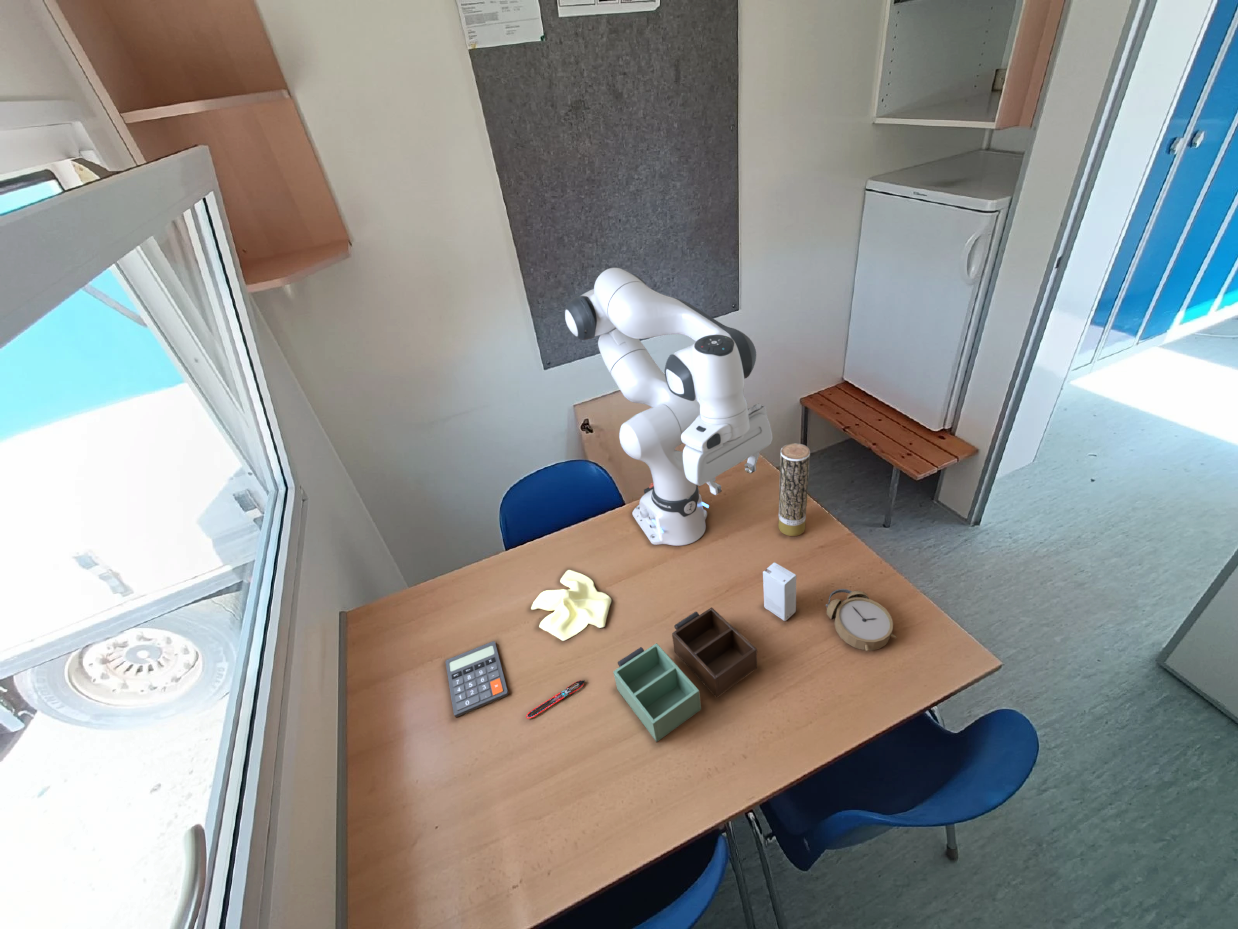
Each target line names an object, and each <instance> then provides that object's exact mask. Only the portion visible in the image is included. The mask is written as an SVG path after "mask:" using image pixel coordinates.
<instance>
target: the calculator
mask: <svg viewBox="0 0 1238 929" xmlns="http://www.w3.org/2000/svg"><path fill="white" fill-rule="evenodd" d="M445 668H446V674H447V682H448V686H449V693H450V700H451V706H452V712H453V716H454V717H456V718H457V717H459V716H462V715H465V714H467V713H469V712H472V711H474V710H476V709H479V708H481V707H483V706H486V705H488V704H491V703H493V702H495V701H497V700H500V699H502V698H504V697H507V696H508V695H509V690H508V686H507V682H506V679H505V675H504V671H503V667H502V664H501V659H500V654H499V651H498V647H497V644H496V641H495V640H493V641H490V642H487V643H485V644H482V645H480V646H478V647H475V648H473V649H470V650H468V651H465V652H462V653H461V654H457V655H455V656H453V657H450V658H447V659H446V660H445Z"/></svg>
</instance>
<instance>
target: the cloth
mask: <svg viewBox="0 0 1238 929" xmlns="http://www.w3.org/2000/svg"><path fill="white" fill-rule="evenodd" d="M559 582H560V584H562V585H563V586H564V587H567V588H569V589H564V588H560V589H547V590H543V591H542V592H539V595H538V596H537V597H535V598H536V599H535V600H534V601H533V603H532V604H531V607H530V609H531V610H532V611H533V610H537V609H540V610H542V611H547V612H552V611H553V612H552V613H549V614H548V615H547V616H545V617H544V618H543V619H542V620H541V621H540V623H539V626H538V627H539V628H540V629H541V630H543V631H544V632H547V633H548V634H550V635H552V636H553V637H555V638H557V639H559V640H561V641H562V642H564V641H567V640H568V639H570V638H572V637H574V636H576V635H577V634H579V633H581V632H582V631H583V630H584V629H586V627H587V626H588V625H592V626H595V627H597V628H598V629H600V628H601V629H602V628H604V627H606V623H607V617H608V615H609V610H610V606H611V604H612V598H611V597H610V596H609V595H607V594H606V593H605V592H602V591H598V590H597V589H596V587H595V583H594V581H593V580H592V579H591V578H590V577H588V576H587V575H584V574H582V573H580V572H577V571H575V570H571V569H567V570H566V571H565V573H563V575H562V576H561V578H560V580H559Z"/></svg>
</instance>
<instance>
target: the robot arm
mask: <svg viewBox="0 0 1238 929" xmlns="http://www.w3.org/2000/svg"><path fill="white" fill-rule="evenodd" d="M563 313H564V319H565V324H566V326H567V328H568V330H569V331H570V332H571V333H572V335H573V336H574V337H575V338H576V339H578V340H580V341H587V340H593V339H594V338H595V337H597V336H599V338H598V340H597V348H598V351H599V353H600V356H601V359H602V361H603V363H604V365H605V367H606V369H607V371H608V373H609V374H610V376H611V377H612V379H613V381H614V383H615V384H616V386H617V387H618V389H619V390H620V392H621V394H622V395H623V397H624V398H625V399H626V400H628V401H629V402H631V403H633V404H641V405H646V406H648V407H650V408H648V409H646V410H643V411H640V412H639V413H636V414H634V415H633V416H631V417H630V418H629V419H628V420H626V421H625V422H623V423H622V424H621V426H620V429H619V434H618V437H619V443H620V446H621V448H622V450H623V451H624V452H625V454H626V455H627V456H629V457H630V458H632V459H634V460H637V461H641V462H643V463H645V465H647V467H648V468H649V470H650V473H651V477H652V482H651V483H650V484H648V487H646V488H644V489H643V493H644V494H643V495H642V496H641V497H640V499H639V503H638V505H637V506H636V507H634V509H633V510H632V517H633V518H634V520H635V521H636V523H637V524H638V526H639V528H641V530H642V531H643V533H644V535H645V536H646V537H647V539H648V540H649V542H650V543H651V545H655V546H656V545H657V546H658V545H669V546H674V547H675V546H677V547H678V546H686V545H689V544H690V545H691V544H693V543H695V542H697V541H698V540H699V539H700V538H702V537H703V535H704V534H705V532H706V528H707V526H706V525H707V524H706V519H707V517H708V512H707V510H706V509H704V507H705V508H707V509H709V507H710V505H709V504H707V503H705V502H704V501H703V500H702V495H701V493H700V489H699V487H700V486H703V485H705V484H707V485H708V486H709V492H710V493H711V494H712V495H714V496H717V495H719V494H720V493H721V492H722V485H721V484H719V483H717V482H716V480H717V479H716V478H717V477H718V476H720V475H722V474H723V473H726V472H727V471H728V470H730V469H732V468H734V467H735V466H737V465H739V464H741V463H742V462H744V461H745V460H747V462H746V463H744V471H745V472H746V473H747V474H748V475H749V474H750V475H752V474H753V473H755V472H756V471H757V462H758V460H759V457H760V452H761V451H762V450H764V449H766V448H767V447H769V446H771V444H772V442H773V439H774V438H773V432H772V427H771V423H770V420H769V417H768V411H767V410H768V409H767V407H766V405H764V404H760V403H756V404H754V405H753V406H750V407H748V401H747V398H746V397H745V387H746V386H745V385H746V381H745V379H747V378H749V377H750V375H751V374H752V372H753V369H754V367H755V365H756V361H757V350H756V346H755V344H754V342H753V341H752V339H751V338H750V337H749V336H748V335H746V334H745V333H744V332H742V331H740V330H739V329H737V328H734V327H730V326H727V325H725V324H723V323H721V322H720V321H718V320H717V319H715V318H713V317H712V316H710V315H709V314H707V313H705V312H704V311H702V310H701V309H699V308H697V307H696V306H694V305H692V304H691V303H689V302H687V301H685V300H684V299H680V298H676V297H672V296H669V295H665V294H662V293H660V292H658V291H656V290H653V289H652V288H651V287H649V286H648V285H647V284H646V282H645V281H644V280H643V278H641V277H640V276H638V275H637V274H632V273H631V272H629V271H627V270H625V269H623V268H620V267H610V268H607V269H604V270H602V272H601V273H599V275H598V277H597V278H596V279H595V282H594V285H593V288H592V289H590V290H588V291H586V292H584V293H582V294H581V295H576V296H574V297H573V298H571V299H570V300H569V301H567V302H566V304H565V307H564V311H563ZM668 335H669V336H670V335H682V336H686V337H688V338H690V339H692V340H693V341H694V343H693V344H691V345H689V346H686V347H684V348H681V349H679V350H676V351H675V352H673V353H671V354H670V355H669V356H668V357H667V359H666V362H665V366H664V372H663V371H662V370H661V368H660V367H659V365H658V364H657V362H656V361H655V360H654V358H653V357H652V356H651V353H649V351H648V349H647V348H646V346H645V345H644V344H643V342H642V341H641V340H643V339H645V340H646V339H650V338H651V339H652V338H655V337H661V336H668ZM683 444H684V445H685V446H684V448H683V450H682V451H681V450H677V447H679V446H680V445H683Z"/></svg>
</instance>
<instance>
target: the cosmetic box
mask: <svg viewBox="0 0 1238 929" xmlns="http://www.w3.org/2000/svg"><path fill="white" fill-rule="evenodd" d="M762 581H763V582H762V584H763V607H764V608H765V610H767V611H769V612H771V613H772V614H773V615H775V616H776V617H778V618H779V619H780V620H782V621H784V622H787V620H788V619H790V618H791V617H792V616H793V615H794V614H795V613H796V612H797V574H796V573H794V572H792V571H791V570H789V569H787V568H785V567H784V566H782V565H780V564H778V563H777V562H775V561H774V562H773V563H771V564H770V565H769V566H768V567H767V568H765V569H764V571H762Z"/></svg>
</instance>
